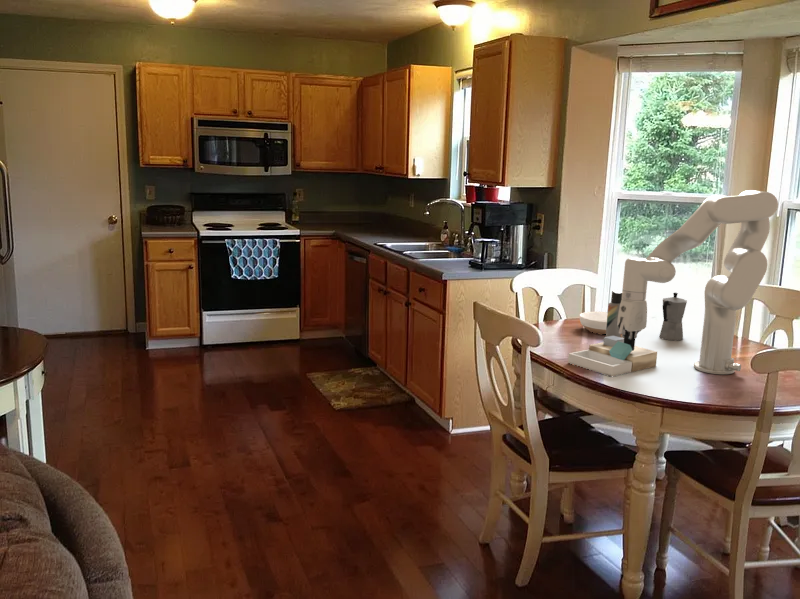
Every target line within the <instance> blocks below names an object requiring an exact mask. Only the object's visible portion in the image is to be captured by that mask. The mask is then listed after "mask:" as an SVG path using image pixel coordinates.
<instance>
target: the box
mask: <svg viewBox="0 0 800 599" xmlns="http://www.w3.org/2000/svg"><path fill="white" fill-rule="evenodd" d="M568 363H570V364H569V365H571V364H574V365H573V366H575V365H577V366H576V367H578V366H580V367H579V368H581V367H583V368H582V369H584V368H586V369H585V370H587V369H589V370H588V371H591V370H593V371H592V372H594V371H596V372H595V373H597V372H599V373H598V374H600V373H602V374H601V375H604V374H605V375H604V376H607V375H608V377H610V376H611V377H610V378H613V377H612V376H614V377H617V376H616V375H618V376H622V375H624V374H625V373H626V374H630V373H632V372H631V368H632V362H631V361H627V360H620V359H617V358H614V357H611V356H610V355H606V354H602V353H599V352H595V351H592V350H589V349H583V350H579V351H573V352H569V353H568V358H567V364H568ZM621 374H622V375H621Z"/></svg>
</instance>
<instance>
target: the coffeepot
mask: <svg viewBox="0 0 800 599" xmlns="http://www.w3.org/2000/svg"><path fill="white" fill-rule="evenodd" d="M672 294H673V297H664V298H662V317H663V321H662V325H661V328H660V329H661V330H660V332H659V338H660V339H662V338H663V340H666V339H667V340H666V341H675V340H677V341H683V339H684V331H683V330H684V329H683V318H684V316H685V315H684V314H685V311H686V306H687V304H688V300H686V299H685V298H679V297H678V294H679V293H677V292H673V293H672Z"/></svg>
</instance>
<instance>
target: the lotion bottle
mask: <svg viewBox="0 0 800 599" xmlns="http://www.w3.org/2000/svg"><path fill="white" fill-rule="evenodd" d="M610 298H611V299H610V302H608V304H607V312H608V315H607V327H606V335H605V337H609V336H617V337H620V338H622V337H623V334H619V329H618V327H617V321H618V313H619V308H620V303H621V300H622V291H621V290H618V289H614V290H612V291H611V297H610Z"/></svg>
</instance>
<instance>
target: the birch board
mask: <svg viewBox="0 0 800 599" xmlns="http://www.w3.org/2000/svg"><path fill="white" fill-rule="evenodd" d="M603 343H604V341H602V342H599V343H593V344H589V347H588V350H592V351H595V352H599V353H602V354H606V355H610V352H609V351H610V350H611V348H612V347H611V346H607V345H604V344H603ZM610 356H611V355H610ZM657 358H658V351H655V350H652V349H648V348H644V347H640V346H636V345H635V346H634V350H633V351H631V353H630V354H629V355H628V356H627V357H626V358H625V359H624V360H627V361H631V362H632V368H631V372H630V373H633V372H637V371H642V370H646V369H649V368H654V367H656V366H657Z"/></svg>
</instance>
